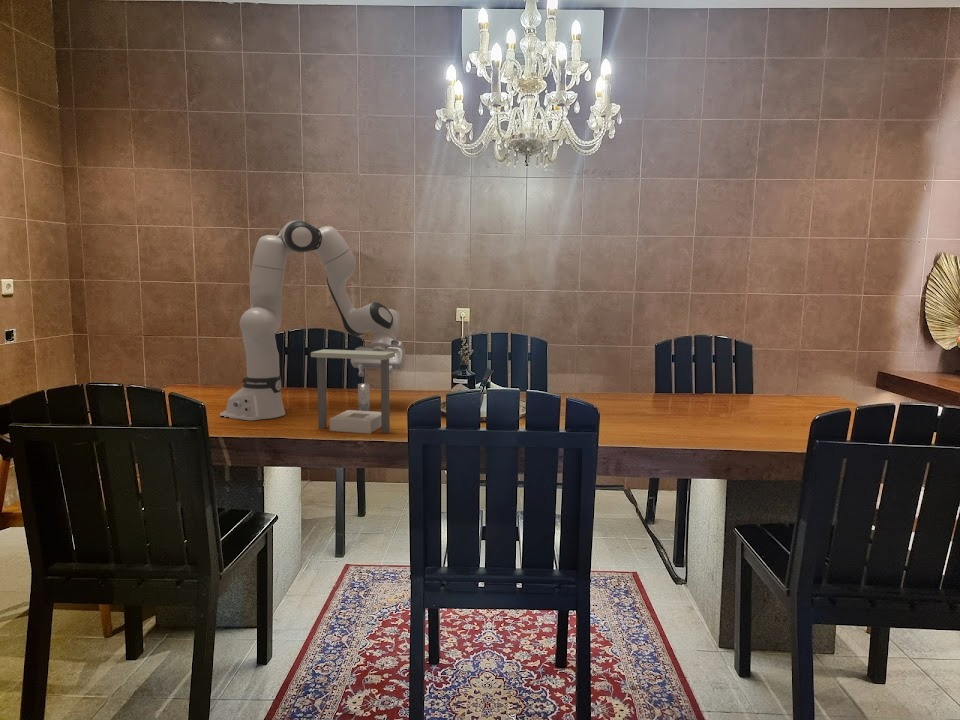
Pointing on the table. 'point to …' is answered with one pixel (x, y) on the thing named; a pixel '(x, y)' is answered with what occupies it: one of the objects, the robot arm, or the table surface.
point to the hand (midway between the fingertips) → (372, 376)
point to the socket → (356, 421)
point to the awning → (353, 355)
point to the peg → (363, 397)
